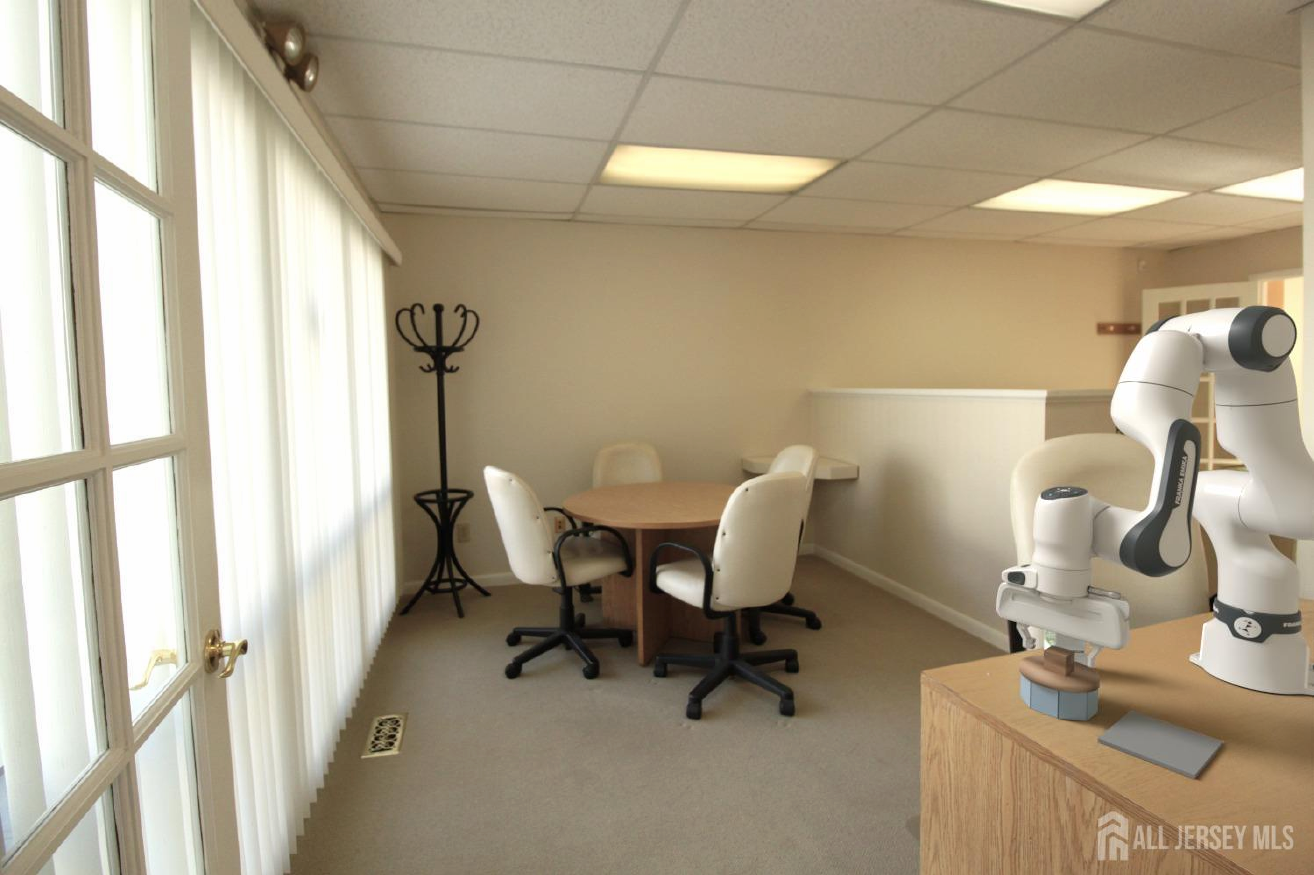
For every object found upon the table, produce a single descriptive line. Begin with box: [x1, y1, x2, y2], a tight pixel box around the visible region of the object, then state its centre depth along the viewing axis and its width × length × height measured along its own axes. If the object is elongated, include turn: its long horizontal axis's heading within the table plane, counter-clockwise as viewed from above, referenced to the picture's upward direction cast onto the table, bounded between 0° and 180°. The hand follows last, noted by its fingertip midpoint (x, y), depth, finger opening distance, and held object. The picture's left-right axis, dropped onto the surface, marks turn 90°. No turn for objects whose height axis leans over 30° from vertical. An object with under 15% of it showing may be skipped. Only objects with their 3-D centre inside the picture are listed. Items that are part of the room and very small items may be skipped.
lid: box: [1018, 645, 1101, 693], centre depth 111 cm, size 12×12×5 cm
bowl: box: [1019, 673, 1099, 721], centre depth 111 cm, size 11×11×5 cm
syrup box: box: [1043, 630, 1087, 663], centre depth 124 cm, size 6×6×14 cm
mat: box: [1097, 710, 1224, 780], centre depth 99 cm, size 14×12×1 cm
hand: (1057, 656), depth 111 cm, fingers open, 8 cm apart
